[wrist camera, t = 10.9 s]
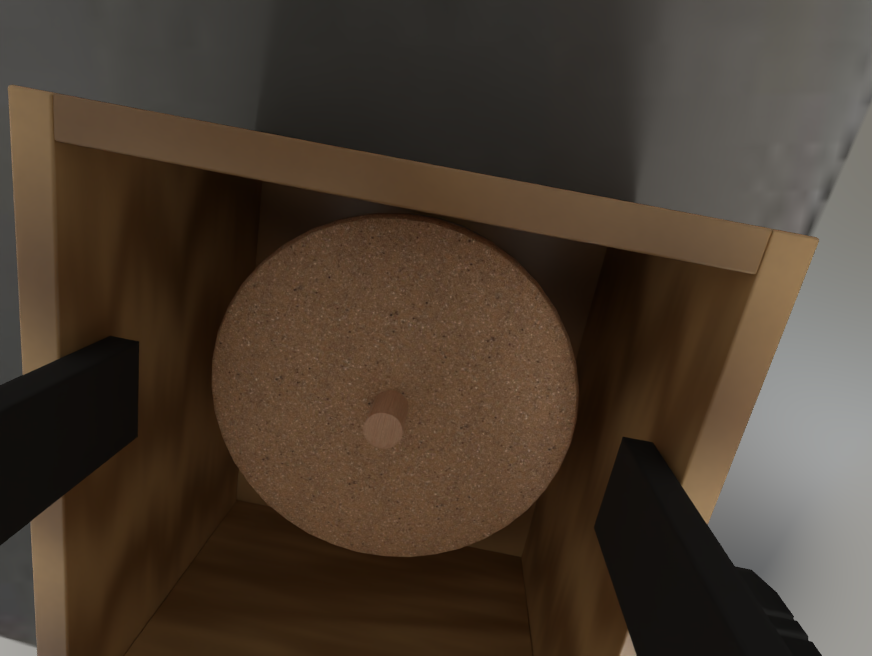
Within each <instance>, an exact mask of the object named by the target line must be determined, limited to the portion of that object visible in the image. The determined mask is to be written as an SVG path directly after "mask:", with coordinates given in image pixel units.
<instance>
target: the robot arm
mask: <svg viewBox="0 0 872 656" xmlns="http://www.w3.org/2000/svg"><path fill="white" fill-rule="evenodd" d="M138 394H139V341H134V340H129V339H124V338H119V337H114V336H108V337H106V338H104V339H102V340H100V341H97V342H95V343H93V344H91V345H88V346H86V347H84V348H82V349H80V350H77V351H75V352H73V353H71V354H69V355H66V356H64V357H62V358H60V359H57V360H55V361H53V362H51V363H49V364H46V365H44V366H42V367H40V368H38V369H35V370H33V371H31V372H29V373H26V374H24V375H22V376H20V377H18V378H15V379H13V380H11V381H9V382H7V383H4V384H2V385H0V545H1V544H3V543H4V542H5V541H6V540H8V539H9V538H10V537H11V536H13V535H14V534H15V533H16V532H18V531H19V530H20V529H22V528H23V527H24V526H25V525H27V524H28V523H29V522H30V521H32V520H33V519H34V518H35V517H37V516H38V515H39V514H41V513H42V512H43V511H44V510H46V509H47V508H48V507H49V506H51V505H52V504H53V503H54V502H56V501H57V500H58V499H60V498H61V497H62V496H63V495H65V494H66V493H67V492H68V491H70V490H71V489H72V488H73V487H75V486H76V485H77V484H79V483H80V482H81V481H82V480H84V479H85V478H86V477H87V476H89V475H90V474H91V473H93V472H94V471H95V470H96V469H98V468H99V467H100V466H101V465H103V464H104V463H105V462H106V461H108V460H109V459H110V458H112V457H113V456H114V455H115V454H117V453H118V452H119V451H120V450H122V449H123V448H124V447H125V446H127V445H128V444H129V443H131V442H132V441H133V440H134V439H136V438H137V437H138ZM594 530H595V533H596V536H597V539H598V542H599V545H600V548H601V551H602V554H603V557H604V560H605V563H606V566H607V569H608V572H609V575H610V578H611V581H612V584H613V587H614V590H615V593H616V596H617V599H618V602H619V605H620V608H621V611H622V613H623V616H624V619H625V622H626V625H627V628H628V631H629V634H630V637H631V640H632V643H633V646H634V649H635V652H636V655H637V656H822V655H821V654H820V652H819V651H818V649H817V648H816V647H815V645H814V644H813V642H810V641H808V636H807V634H806V633H805V631H804V630H803V629H802V627H801V626H800V624H799V623H798V622H797V621H794V619H793V617H794V616H793V615H792V613H791V612H790V610H789V609H788V608H787V607H786V605H785V603H784V602H783V601H782V599H781V598H780V596H779V595H778V594H777V592H775V591H774V590H773V589H772V588H771V587H770V586H769V585H768V584H767V583H766V582H764V581H763V580H762V579H761V578H760V577H759V576H758V575H757V574H755V573H754V572H753V571H752V570H750V569H745V568H740V567H735V566H734V565H733V563H732V562H731V560H730V559H729V557H728V556H727V554H726V553H725V551H724V550H723V548H722V546H721V545H720V543H719V542H718V540H717V539H716V537H715V536H714V534H713V533H712V531H711V530H710V528H709V527H708V525H707V524H706V522H705V521H704V519H703V518H702V516H701V515H700V513H699V512H698V510H697V509H696V507H695V505H694V504H693V502H692V501H691V499H690V498H689V496H688V495H687V493H686V492H685V490H684V489H683V487H682V486H681V484H680V483H679V481H678V480H677V478H676V477H675V475H674V474H673V472H672V471H671V469H670V468H669V466H668V464H667V463H666V461H665V460H664V458H663V457H662V455H661V454H660V452H659V451H658V449H657V448H656V446H655V445H654V443H653V442H649V441H644V440H639V439H633V438H628V437H622V440H621V444H620V447H619V450H618V453H617V456H616V459H615V462H614V465H613V469H612V472H611V475H610V478H609V481H608V484H607V487H606V490H605V494H604V497H603V500H602V503H601V506H600V509H599V512H598V515H597V518H596V522H595V525H594Z"/></svg>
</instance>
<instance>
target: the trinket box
mask: <svg viewBox="0 0 872 656" xmlns="http://www.w3.org/2000/svg"><path fill="white" fill-rule="evenodd" d="M211 388H212V395H213V403H214V411H215V414H216V418H217V421H218V424H219V428H220V431H221V434H222V437H223V440H224V442H225V444H226V446H227V448H228V450H229V452H230V454H231V456H232V459H233V461H234V463H235V464H236V465H237V467H238V468H239V470H240V471H241V473H242V474H243V475H244V477H245V478H246V480H247V481H248V483H249V484H250V485H251V486H252V487H253V488H254V490H255V491H256V492H257V493H258V494H259V495H260V496H261V498H262V499H263V500H264V501H265V502H266V503H267V504H268V505H269V506H271V507H272V508H273V509H274V510H276V511H277V512H278V513H279V514H281V515H282V516H283V517H284V518H286V519H287V520H288V521H290V522H291V523H293V524H295V525H296V526H298V527H299V528H301V529H302V530H304V531H305V532H307V533H308V534H311V535H313V536H315V537H318V538H320V539H322V540H324V541H327V542H329V543H331V544H334V545H337V546H340V547H343V548H346V549H350V550H353V551H356V552H361V553H367V554H374V555H380V556H395V557H415V556H424V555H433V554H438V553H443V552H447V551H451V550H456V549H460V548H463V547H465V546H467V545H470V544H472V543H475V542H477V541H480V540H482V539H485V538H486V537H488V536H490V535H492V534H494V533H495V532H497V531H499V530H501V529H502V528H504V527H506V526H507V525H509V524H510V523H511V522H513V521H514V520H515V519H516V518H518V517H519V516H520V515H521V514H523V513H524V512H525V511H526V510H528V509H529V508H530V506H531V505H532V504H533V503H534V502H535V501H536V500H537V499H538V498H539V497H540V496H541V495H542V493H543V492H544V491H545V490H546V489H547V487H548V486H549V484H550V483H551V481H552V480H553V478H554V477H555V475H556V474H557V472H558V471H559V469H560V467H561V465H562V462H563V460H564V458H565V456H566V453H567V451H568V449H569V447H570V444H571V440H572V436H573V433H574V429H575V425H576V421H577V412H578V400H579V386H578V375H577V365H576V361H575V357H574V353H573V350H572V346H571V342H570V339H569V336H568V334H567V331H566V329H565V327H564V325H563V323H562V321H561V319H560V316H559V314H558V312H557V310H556V308H555V307H554V305H553V304H552V302H551V301H550V299H549V298H548V297H547V295H546V294H545V292H544V291H543V289H542V288H541V286H540V285H539V284H538V282H537V281H536V280H535V279H534V278H533V277H532V276H531V275H530V274H529V273H528V272H527V271H526V270H525V269H524V268H523V267H522V265H521V264H520V263H519V262H518V261H517V260H516V259H514V258H513V257H512V256H510V255H509V254H508V253H506V252H505V251H504V250H502V249H501V248H500V247H498V246H497V245H495V244H494V243H493V242H491V241H490V240H488V239H487V238H486V237H484V236H482V235H480V234H478V233H476V232H474V231H472V230H470V229H468V228H467V227H465V226H463V225H460V224H457V223H454V222H451V221H448V220H445V219H441V218H438V217H433V216H426V215H420V214H414V213H372V214H366V215H360V216H354V217H348V218H343V219H340V220H337V221H334V222H331V223H328V224H325V225H322V226H319V227H316V228H313V229H311V230H309V231H307V232H306V233H304V234H302V235H300V236H298V237H296V238H294V239H293V240H291V241H289V242H287V243H285V244H284V245H282V246H281V247H280V248H279V249H277V250H276V251H275V252H274V253H272V254H271V255H270V256H268V257H267V258H266V259H265V260H263V261H262V262H261V263H260V264H259V265H258V266H257V267H256V269H255V270H254V271H253V272H252V273H251V274H250V275H249V276H248V278H247V279H246V280H245V281H244V282H243V283H242V285H241V286H240V288H239V290H238V291H237V293H236V294H235V296H234V298H233V299H232V301H231V302H230V304H229V306H228V307H227V310H226V312H225V315H224V318H223V320H222V323H221V325H220V328H219V330H218V333H217V338H216V342H215V347H214V352H213V357H212V376H211Z"/></svg>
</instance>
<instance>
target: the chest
mask: <svg viewBox="0 0 872 656" xmlns="http://www.w3.org/2000/svg"><path fill="white" fill-rule="evenodd" d="M8 97H9V117H10V136H11V155H12V175H13V194H14V213H15V233H16V252H17V271H18V291H19V310H20V329H21V349H22V368H23V375H24V374H26V373H29V372H31V371H33V370H35V369H38V368H40V367H42V366H44V365H46V364H49V363H51V362H53V361H55V360H57V359H60V358H62V357H64V356H66V355H69V354H71V353H73V352H75V351H77V350H80V349H82V348H84V347H86V346H88V345H91V344H93V343H95V342H97V341H100V340H102V339H104V338H106V337H108V336H114V337H119V338H124V339H129V340H134V341H139V394H138V437H137V438H136V439H134V440H133V441H132V442H131V443H129V444H128V445H127V446H125V447H124V448H123V449H122V450H120V451H119V452H118V453H117V454H115V455H114V456H113V457H112V458H110V459H109V460H108V461H106V462H105V463H104V464H103V465H101V466H100V467H99V468H98V469H96V470H95V471H94V472H93V473H91V474H90V475H89V476H87V477H86V478H85V479H84V480H82V481H81V482H80V483H79V484H77V485H76V486H75V487H73V488H72V489H71V490H70V491H68V492H67V493H66V494H65V495H63V496H62V497H61V498H60V499H58V500H57V501H56V502H54V503H53V504H52V505H51V506H49V507H48V508H47V509H46V510H44V511H43V512H42V513H41V514H39V515H38V516H37V517H35V518H34V519H33V520H32V521H30V523H31V542H32V562H33V581H34V601H35V620H36V639H37V656H637V655H636V652H635V649H634V646H633V643H632V640H631V637H630V634H629V631H628V628H627V625H626V622H625V619H624V616H623V613H622V611H621V608H620V605H619V602H618V599H617V596H616V593H615V590H614V587H613V584H612V581H611V578H610V575H609V572H608V569H607V566H606V563H605V560H604V557H603V554H602V551H601V548H600V545H599V542H598V539H597V536H596V533H595V530H594V525H595V522H596V518H597V515H598V512H599V509H600V506H601V503H602V500H603V497H604V494H605V490H606V487H607V484H608V481H609V478H610V475H611V472H612V469H613V465H614V462H615V459H616V456H617V453H618V450H619V447H620V444H621V440H622V437H628V438H633V439H639V440H644V441H649V442H653V443H654V445H655V446H656V448H657V449H658V451H659V452H660V454H661V455H662V457H663V458H664V460H665V461H666V463H667V464H668V466H669V468H670V469H671V471H672V472H673V474H674V475H675V477H676V478H677V480H678V481H679V483H680V484H681V486H682V487H683V489H684V490H685V492H686V493H687V495H688V496H689V498H690V499H691V501H692V502H693V504H694V505H695V507H696V509H697V510H698V512H699V513H700V515H701V516H702V518H703V519H704V521H705V522H706V524H707V525H708V523H709V520H710V517H711V515H712V512H713V510H714V507H715V505H716V502H717V500H718V497H719V494H720V492H721V489H722V487H723V484H724V482H725V479H726V476H727V474H728V472H729V469H730V466H731V464H732V461H733V459H734V456H735V454H736V451H737V449H738V446H739V443H740V441H741V438H742V436H743V433H744V431H745V428H746V426H747V423H748V421H749V418H750V415H751V413H752V410H753V408H754V405H755V403H756V400H757V397H758V395H759V393H760V390H761V387H762V385H763V382H764V380H765V377H766V374H767V372H768V370H769V367H770V364H771V362H772V359H773V357H774V354H775V352H776V349H777V347H778V344H779V342H780V339H781V336H782V334H783V331H784V329H785V326H786V324H787V321H788V319H789V316H790V314H791V311H792V308H793V306H794V303H795V300H796V298H797V296H798V293H799V290H800V288H801V286H802V283H803V280H804V278H805V275H806V273H807V270H808V268H809V265H810V262H811V260H812V257H813V255H814V252H815V250H816V247H817V245H818V242H819V239H818V238H816V237H812V236H807V235H802V234H796V233H791V232H786V231H781V230H775V229H770V228H765V227H760V226H754V225H749V224H744V223H738V222H733V221H728V220H723V219H717V218H712V217H707V216H702V215H696V214H691V213H686V212H680V211H675V210H670V209H665V208H659V207H654V206H649V205H644V204H638V203H633V202H628V201H622V200H617V199H612V198H607V197H601V196H596V195H591V194H586V193H580V192H575V191H570V190H564V189H559V188H554V187H549V186H543V185H538V184H533V183H528V182H522V181H517V180H512V179H506V178H501V177H496V176H491V175H485V174H480V173H475V172H470V171H464V170H459V169H454V168H448V167H443V166H438V165H433V164H427V163H422V162H417V161H412V160H406V159H401V158H396V157H390V156H385V155H380V154H375V153H369V152H364V151H359V150H354V149H348V148H343V147H338V146H333V145H327V144H322V143H317V142H311V141H306V140H301V139H296V138H290V137H285V136H280V135H275V134H269V133H264V132H259V131H253V130H248V129H243V128H238V127H232V126H227V125H222V124H217V123H211V122H206V121H201V120H195V119H190V118H185V117H180V116H174V115H169V114H164V113H159V112H153V111H148V110H143V109H137V108H132V107H127V106H122V105H116V104H111V103H106V102H101V101H95V100H90V99H85V98H79V97H74V96H69V95H64V94H58V93H53V92H48V91H43V90H37V89H32V88H27V87H21V86H16V85H9V86H8ZM372 213H414V214H420V215H426V216H433V217H438V218H441V219H445V220H448V221H451V222H454V223H457V224H460V225H463V226H465V227H467V228H468V229H470V230H472V231H474V232H476V233H478V234H480V235H482V236H484V237H486V238H487V239H488V240H490V241H491V242H493V243H494V244H495V245H497V246H498V247H500V248H501V249H502V250H504V251H505V252H506V253H508V254H509V255H510V256H512V257H513V258H514V259H516V260H517V261H518V262H519V263H520V264H521V265H522V267H523V268H524V269H525V270H526V271H527V272H528V273H529V274H530V275H531V276H532V277H533V278H534V279H535V280H536V281H537V282H538V284H539V285H540V286H541V288H542V289H543V291H544V292H545V294H546V295H547V297H548V298H549V299H550V301H551V302H552V304H553V305H554V307H555V308H556V310H557V312H558V314H559V316H560V319H561V321H562V323H563V325H564V327H565V329H566V331H567V334H568V336H569V339H570V342H571V346H572V350H573V353H574V357H575V361H576V365H577V375H578V386H579V400H578V412H577V421H576V425H575V429H574V433H573V436H572V440H571V444H570V447H569V449H568V451H567V453H566V456H565V458H564V460H563V462H562V465H561V467H560V469H559V471H558V472H557V474H556V475H555V477H554V478H553V480H552V481H551V483H550V484H549V486H548V487H547V489H546V490H545V491H544V492H543V493H542V495H541V496H540V497H539V498H538V499H537V500H536V501H535V502H534V503H533V504H532V505H531V506H530V508H529V509H528V510H526V511H525V512H524V513H523V514H521V515H520V516H519V517H518V518H516V519H515V520H514V521H513V522H511V523H510V524H509V525H507V526H506V527H504V528H502V529H501V530H499V531H497V532H495V533H494V534H492V535H490V536H488V537H486V538H485V539H482V540H480V541H477V542H475V543H472V544H470V545H467V546H465V547H463V548H460V549H456V550H451V551H447V552H443V553H438V554H433V555H424V556H415V557H395V556H380V555H374V554H367V553H361V552H356V551H353V550H350V549H346V548H343V547H340V546H337V545H334V544H331V543H329V542H327V541H324V540H322V539H320V538H318V537H315V536H313V535H311V534H308V533H307V532H305V531H304V530H302V529H301V528H299V527H298V526H296V525H295V524H293V523H291V522H290V521H288V520H287V519H286V518H284V517H283V516H282V515H281V514H279V513H278V512H277V511H276V510H274V509H273V508H272V507H271V506H269V505H268V504H267V503H266V502H265V501H264V500H263V499H262V498H261V496H260V495H259V494H258V493H257V492H256V491H255V490H254V488H253V487H252V486H251V485H250V484H249V483H248V481H247V480H246V478H245V477H244V475H243V474H242V473H241V471H240V470H239V468H238V467H237V465H236V464H235V463H234V461H233V459H232V456H231V454H230V452H229V450H228V448H227V446H226V444H225V442H224V440H223V437H222V434H221V431H220V428H219V424H218V421H217V418H216V414H215V411H214V403H213V395H212V388H211V376H212V357H213V352H214V347H215V342H216V338H217V333H218V330H219V328H220V325H221V323H222V320H223V318H224V315H225V312H226V310H227V307H228V306H229V304H230V302H231V301H232V299H233V298H234V296H235V294H236V293H237V291H238V290H239V288H240V286H241V285H242V283H243V282H244V281H245V280H246V279H247V278H248V276H249V275H250V274H251V273H252V272H253V271H254V270H255V269H256V267H257V266H258V265H259V264H260V263H261V262H262V261H263V260H265V259H266V258H267V257H268V256H270V255H271V254H272V253H274V252H275V251H276V250H277V249H279V248H280V247H281V246H282V245H284V244H285V243H287V242H289V241H291V240H293V239H294V238H296V237H298V236H300V235H302V234H304V233H306V232H307V231H309V230H311V229H313V228H316V227H319V226H322V225H325V224H328V223H331V222H334V221H337V220H340V219H343V218H348V217H354V216H360V215H366V214H372Z"/></svg>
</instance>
